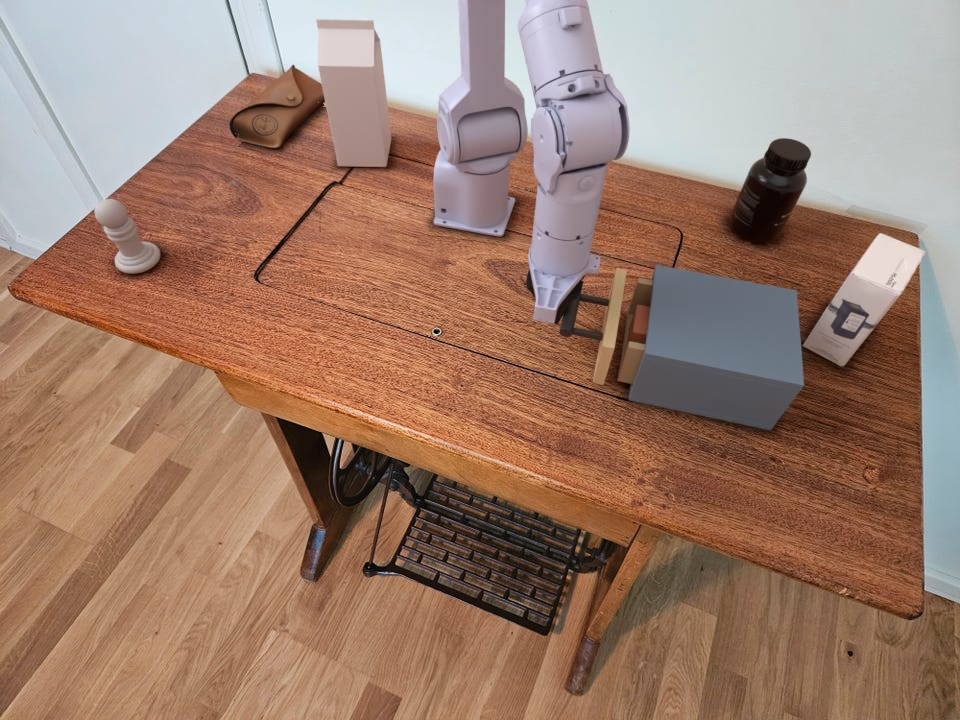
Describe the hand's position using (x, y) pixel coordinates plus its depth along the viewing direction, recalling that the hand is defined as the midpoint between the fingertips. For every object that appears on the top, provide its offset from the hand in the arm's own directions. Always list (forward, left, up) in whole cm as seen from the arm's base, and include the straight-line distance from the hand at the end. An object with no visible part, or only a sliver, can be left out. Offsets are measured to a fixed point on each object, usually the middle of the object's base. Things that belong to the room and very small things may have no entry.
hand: (549, 317), depth 68 cm
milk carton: (-33, +28, -4) cm, 43 cm away
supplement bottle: (+23, +26, -4) cm, 35 cm away
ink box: (+32, +9, -4) cm, 34 cm away
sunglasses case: (-48, +34, -4) cm, 59 cm away
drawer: (+10, 0, -3) cm, 11 cm away
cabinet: (+17, 0, -3) cm, 18 cm away
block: (+11, 0, -1) cm, 11 cm away
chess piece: (-52, -1, -4) cm, 52 cm away
